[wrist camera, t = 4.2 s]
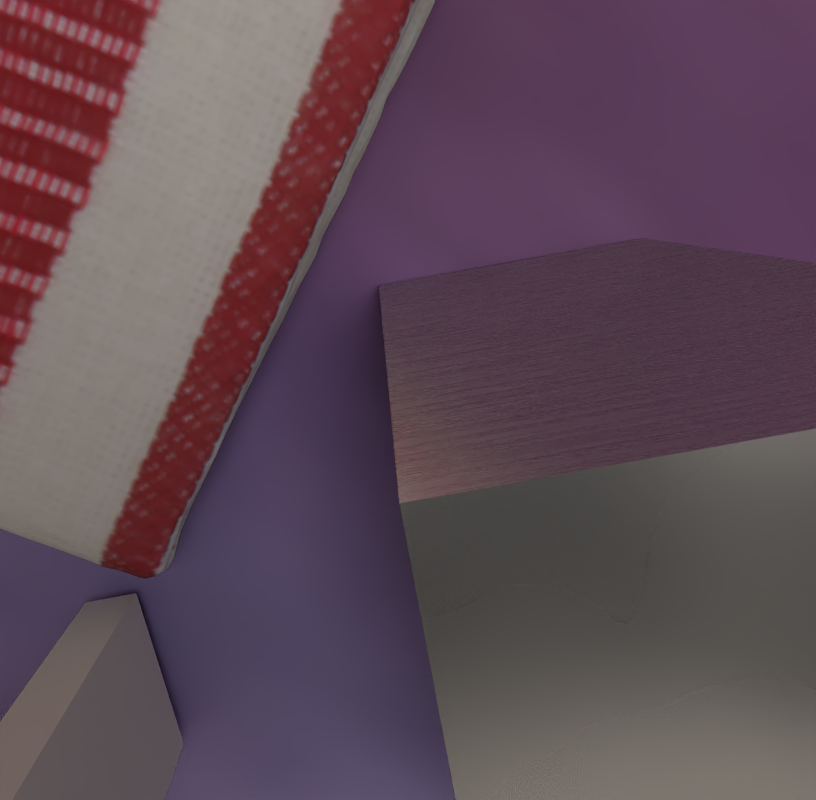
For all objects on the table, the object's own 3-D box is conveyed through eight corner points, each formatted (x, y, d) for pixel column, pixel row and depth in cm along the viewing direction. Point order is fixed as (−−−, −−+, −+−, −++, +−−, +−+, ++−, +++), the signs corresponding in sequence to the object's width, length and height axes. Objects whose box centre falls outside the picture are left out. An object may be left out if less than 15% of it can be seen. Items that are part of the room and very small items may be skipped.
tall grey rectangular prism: (687, 821, 12) (1075, 1584, 5) (483, 857, 12) (621, 1667, 5) (644, 238, 9) (1329, 336, 3) (378, 285, 9) (400, 502, 3)
